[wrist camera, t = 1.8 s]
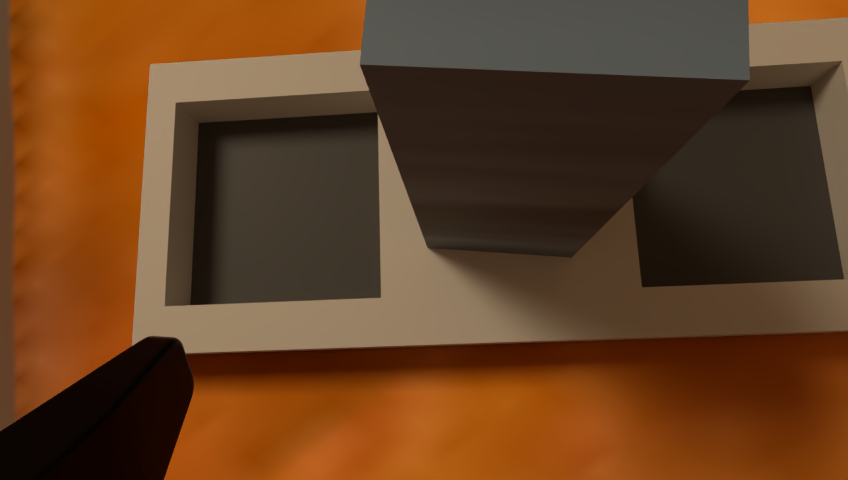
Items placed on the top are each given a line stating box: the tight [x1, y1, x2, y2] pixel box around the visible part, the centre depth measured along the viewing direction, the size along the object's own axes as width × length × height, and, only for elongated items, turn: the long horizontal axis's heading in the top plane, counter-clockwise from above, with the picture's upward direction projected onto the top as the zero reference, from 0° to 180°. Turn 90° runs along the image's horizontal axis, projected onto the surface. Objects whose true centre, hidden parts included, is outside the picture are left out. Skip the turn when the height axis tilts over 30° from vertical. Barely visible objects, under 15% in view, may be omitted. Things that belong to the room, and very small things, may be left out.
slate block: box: [360, 0, 750, 258], centre depth 13 cm, size 4×4×12 cm
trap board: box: [132, 18, 848, 355], centre depth 20 cm, size 31×10×2 cm, turn 92°
